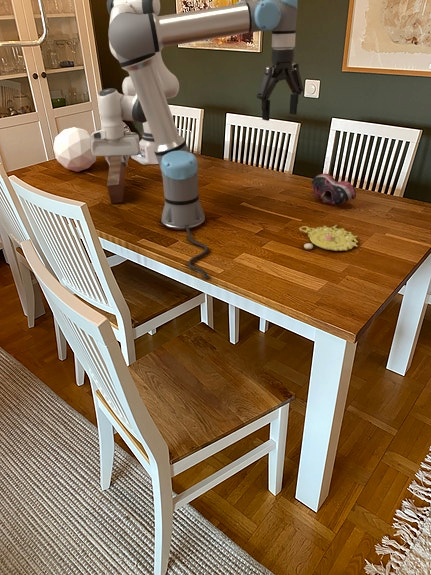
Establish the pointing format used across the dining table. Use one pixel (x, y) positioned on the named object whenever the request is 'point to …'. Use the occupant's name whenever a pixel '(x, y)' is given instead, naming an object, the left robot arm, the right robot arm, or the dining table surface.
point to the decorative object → (330, 238)
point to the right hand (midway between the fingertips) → (279, 117)
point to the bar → (116, 179)
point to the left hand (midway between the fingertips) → (118, 166)
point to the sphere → (74, 149)
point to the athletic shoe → (332, 189)
